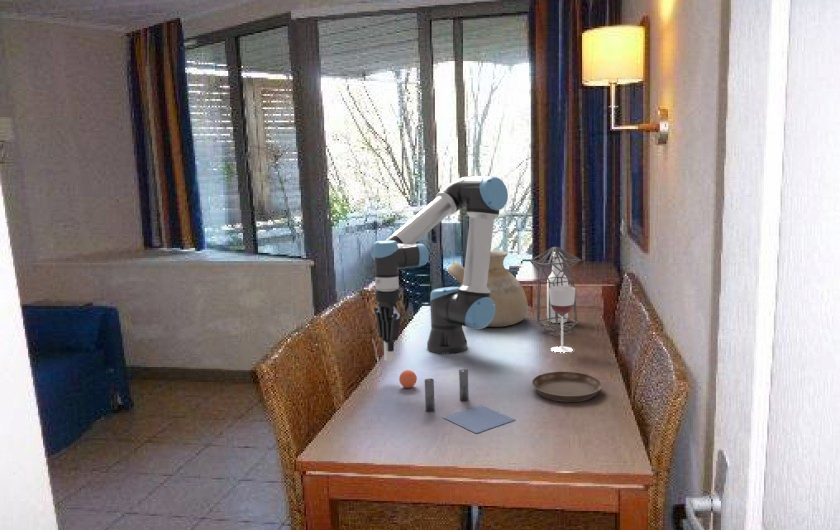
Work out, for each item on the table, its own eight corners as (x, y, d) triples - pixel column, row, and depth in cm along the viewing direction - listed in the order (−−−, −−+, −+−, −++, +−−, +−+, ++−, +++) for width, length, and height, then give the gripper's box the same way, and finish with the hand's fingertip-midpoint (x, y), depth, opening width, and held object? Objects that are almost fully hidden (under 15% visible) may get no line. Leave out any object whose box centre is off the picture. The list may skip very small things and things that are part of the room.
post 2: (458, 399, 199) (457, 370, 197) (464, 397, 200) (464, 368, 199) (463, 402, 197) (462, 372, 195) (470, 400, 198) (469, 370, 197)
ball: (396, 387, 212) (395, 370, 211) (410, 383, 215) (409, 366, 214) (406, 391, 207) (405, 374, 206) (420, 387, 210) (419, 370, 210)
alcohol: (546, 318, 292) (546, 250, 287) (567, 318, 291) (567, 250, 286) (547, 323, 283) (547, 253, 279) (568, 323, 282) (568, 253, 277)
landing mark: (443, 418, 185) (443, 417, 185) (481, 405, 193) (481, 405, 193) (476, 433, 174) (476, 433, 174) (515, 420, 182) (515, 419, 182)
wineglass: (576, 346, 249) (576, 285, 245) (573, 354, 240) (573, 291, 236) (551, 345, 252) (551, 285, 248) (547, 352, 243) (547, 290, 239)
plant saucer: (598, 408, 189) (598, 397, 189) (525, 401, 197) (525, 390, 196) (604, 384, 208) (605, 374, 208) (538, 379, 216) (538, 369, 215)
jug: (532, 329, 276) (532, 257, 271) (450, 331, 276) (448, 259, 271) (523, 313, 304) (522, 247, 299) (448, 315, 305) (446, 250, 300)
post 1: (423, 410, 192) (422, 379, 190) (431, 407, 193) (430, 377, 192) (429, 412, 190) (428, 382, 188) (436, 410, 191) (435, 380, 190)
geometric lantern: (552, 340, 259) (549, 250, 254) (530, 332, 273) (527, 247, 268) (585, 334, 265) (584, 246, 260) (562, 326, 279) (560, 243, 274)
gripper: (366, 287, 217) (368, 358, 221) (388, 293, 207) (390, 367, 210) (385, 284, 222) (387, 354, 225) (408, 290, 211) (409, 362, 215)
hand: (389, 360), depth 218 cm, fingers closed
